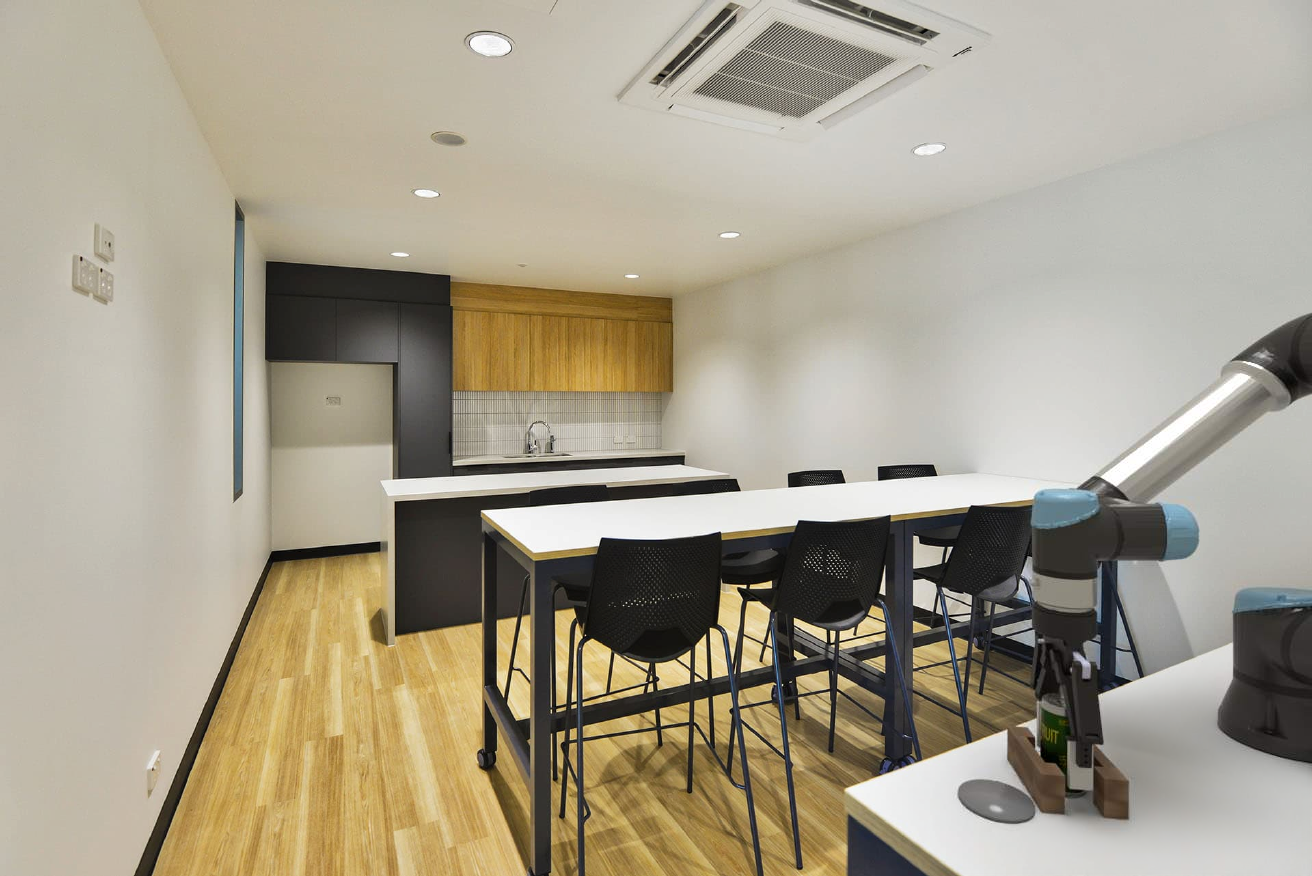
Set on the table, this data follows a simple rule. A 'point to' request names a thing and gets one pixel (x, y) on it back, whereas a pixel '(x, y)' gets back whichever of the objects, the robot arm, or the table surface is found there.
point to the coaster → (996, 801)
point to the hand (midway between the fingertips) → (1063, 766)
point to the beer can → (1055, 735)
